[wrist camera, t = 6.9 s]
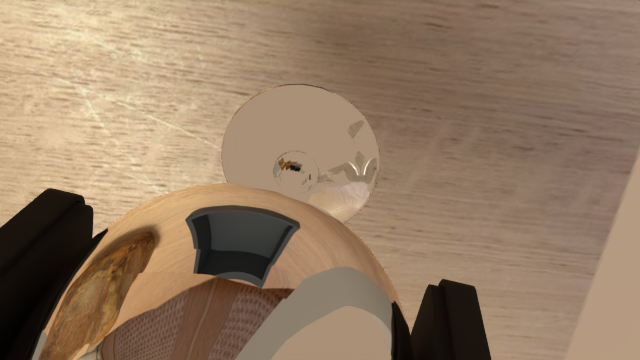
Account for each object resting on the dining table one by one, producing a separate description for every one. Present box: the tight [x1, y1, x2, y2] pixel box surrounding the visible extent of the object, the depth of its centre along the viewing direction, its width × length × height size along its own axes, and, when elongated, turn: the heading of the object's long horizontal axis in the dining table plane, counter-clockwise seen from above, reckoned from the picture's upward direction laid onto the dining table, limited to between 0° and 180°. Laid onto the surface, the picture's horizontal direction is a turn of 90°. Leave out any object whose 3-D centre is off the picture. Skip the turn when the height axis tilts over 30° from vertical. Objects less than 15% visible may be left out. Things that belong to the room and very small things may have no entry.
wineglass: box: [1, 84, 415, 360], centre depth 12 cm, size 6×6×12 cm
